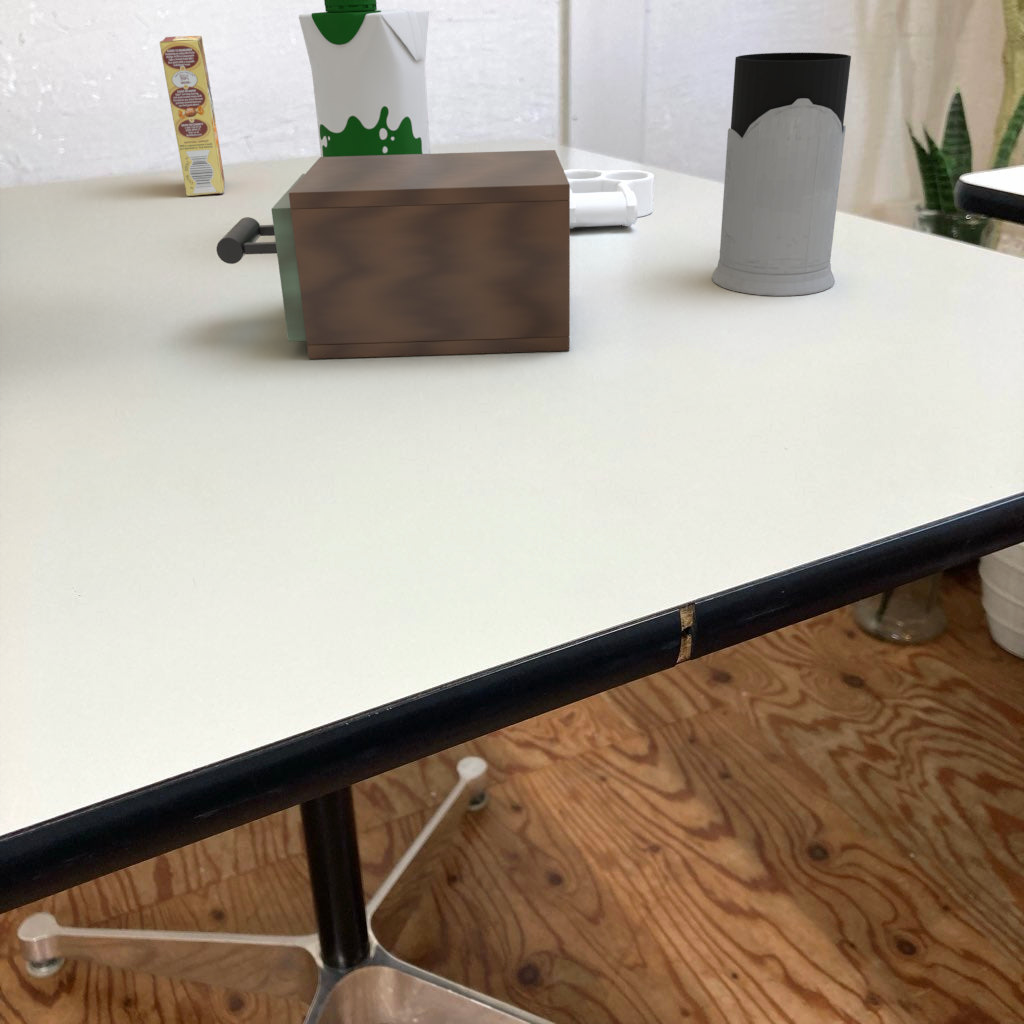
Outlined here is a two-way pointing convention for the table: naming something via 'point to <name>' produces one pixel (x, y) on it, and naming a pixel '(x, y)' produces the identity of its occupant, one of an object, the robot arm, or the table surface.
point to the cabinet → (433, 254)
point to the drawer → (243, 243)
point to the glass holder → (782, 173)
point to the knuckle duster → (609, 196)
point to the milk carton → (368, 78)
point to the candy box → (193, 114)
